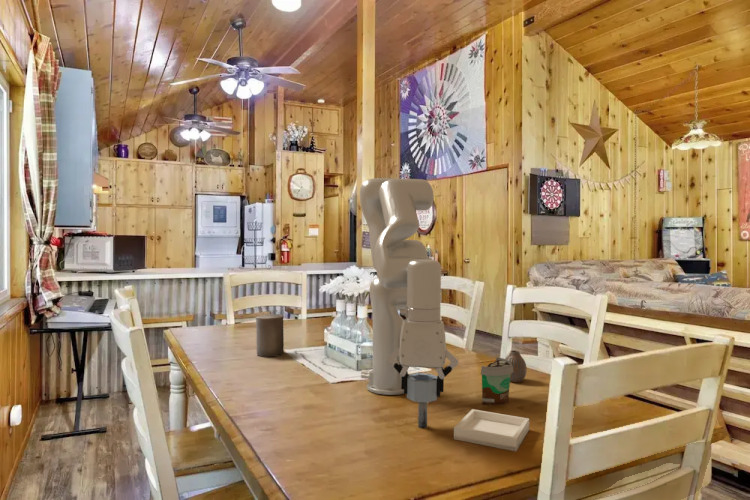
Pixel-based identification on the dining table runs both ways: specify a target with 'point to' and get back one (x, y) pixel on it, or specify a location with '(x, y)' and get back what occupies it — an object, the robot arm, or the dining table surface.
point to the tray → (492, 429)
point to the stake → (422, 415)
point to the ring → (422, 387)
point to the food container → (496, 382)
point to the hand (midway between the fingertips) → (422, 393)
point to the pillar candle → (269, 335)
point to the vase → (517, 366)
